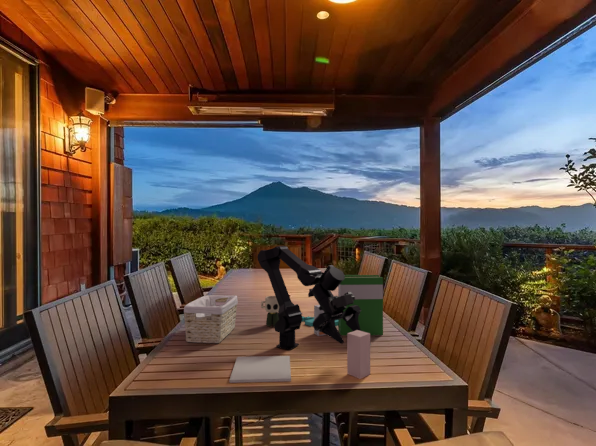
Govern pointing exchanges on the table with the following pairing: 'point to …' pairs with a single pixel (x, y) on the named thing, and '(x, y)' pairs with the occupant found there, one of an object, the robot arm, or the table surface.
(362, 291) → the green cereal box
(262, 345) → the table surface
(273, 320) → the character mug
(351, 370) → the rose card box
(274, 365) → the white square plate
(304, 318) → the alien figure
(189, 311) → the storage basket
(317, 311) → the skincare box
